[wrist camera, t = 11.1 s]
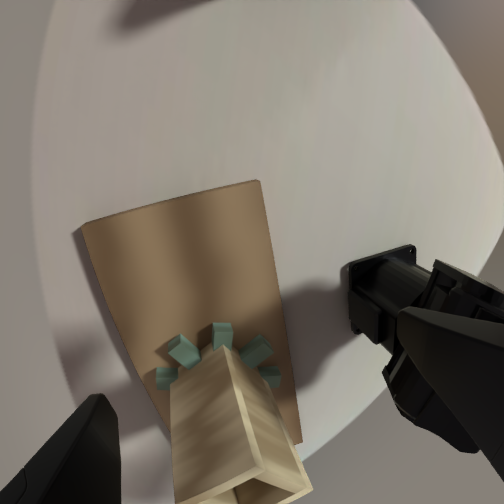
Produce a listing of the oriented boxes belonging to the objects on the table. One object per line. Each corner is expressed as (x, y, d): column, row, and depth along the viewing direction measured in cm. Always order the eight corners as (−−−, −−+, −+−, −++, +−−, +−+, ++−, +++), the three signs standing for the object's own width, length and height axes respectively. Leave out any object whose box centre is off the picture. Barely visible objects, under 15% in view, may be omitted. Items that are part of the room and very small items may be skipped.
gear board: (255, 179, 20) (260, 180, 18) (299, 434, 28) (302, 442, 27) (86, 222, 18) (80, 226, 17) (192, 460, 26) (193, 469, 25)
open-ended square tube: (223, 297, 20) (265, 424, 10) (298, 370, 23) (359, 477, 13) (132, 372, 20) (118, 500, 10) (214, 428, 24) (237, 538, 13)
